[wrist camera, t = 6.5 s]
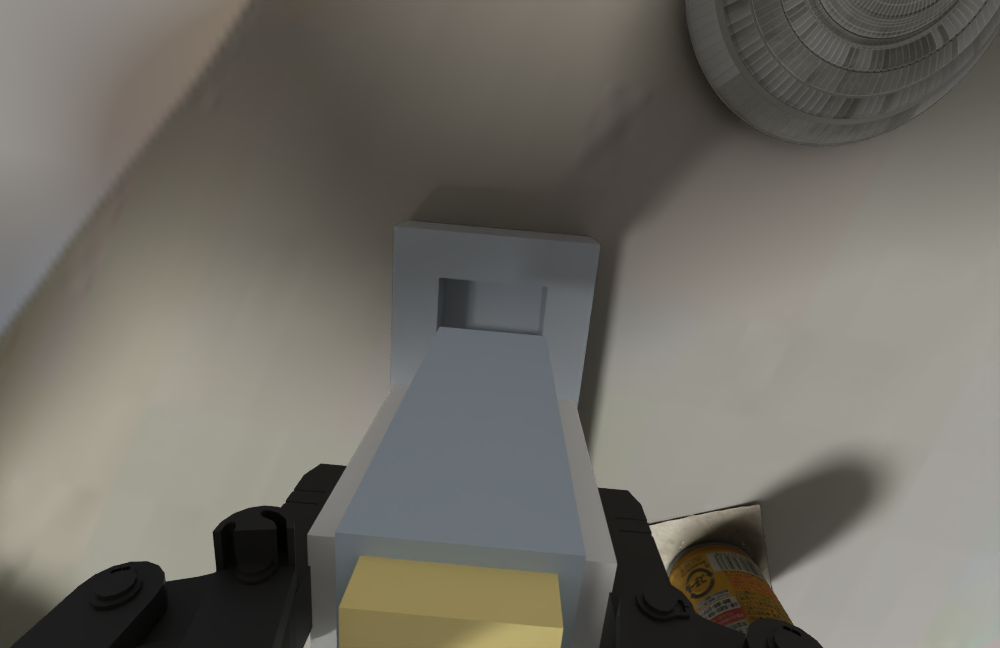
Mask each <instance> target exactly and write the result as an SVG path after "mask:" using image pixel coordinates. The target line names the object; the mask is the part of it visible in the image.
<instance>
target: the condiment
mask: <svg viewBox="0 0 1000 648" xmlns="http://www.w3.org/2000/svg"><path fill="white" fill-rule="evenodd" d="M649 527H650V529H651V532H652V536H653V537H654V540H655V543H656V545H657V548H658V551H659V553H660V556H661V559H662V561H663V564H664V566H665V569H666V572H667V574H668V577H669V580H670V582H671V585H673V586H674V587H676V588H677V589H679V590H680V591H682V592H683V593H684V595H685V596H686V597H687V598H688V599H689V600H690V602H691V603H692V605H693V607H694V610H695V612H696V613H697V614H699V615H700V616H702V617H703V618H706V619H708V620H710V621H712V622H715V623H717V624H720V625H723V626H725V627H728V628H731V629H734V630H736V631H739V632H742V633H745V634H746V632H747V628H748V626H749V625H750V624H751V623H752V622H754V621H755V620H756V619H763V618H772V619H777V620H782V621H785V622H787V623H790V624H792V625H793V623H792V621H791V620H790V618H789V617H788V615H787V613H786V612H785V610H784V608H783V606H782V605H781V603H780V602H779V600H778V599H777V597H776V595H775V594H774V592H773V590H772V589H771V584H770V577H769V571H768V564H767V555H766V546H765V541H764V534H763V527H762V516H761V511H760V505H752V506H748V507H745V506H743V507H738V508H732V509H727V510H723V511H714V512H710V513H705V514H700V515H695V516H694V515H692V516H688V517H686V518H682V519H678V520H672V521H665V522H663V523H659V524H655V525H650V526H649ZM682 541H685V543H684V544H683V545H681V543H682ZM743 543H744V544H745V545H742V544H743ZM680 546H682V548H681V549H678V548H679V547H680Z"/></svg>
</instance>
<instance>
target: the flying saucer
mask: <svg viewBox="0 0 1000 648" xmlns="http://www.w3.org/2000/svg"><path fill="white" fill-rule="evenodd" d="M685 8H686V18H687V25H688V30H689V35H690V39H691V42H692V46H693V49H694V52H695V55H696V58H697V60H698V63H699V65H700V67H701V69H702V71H703V73H704V75H705V77H706V79H707V81H708V82H709V84H710V86H711V87H712V89H713V90H714V91H715V93H716V94H717V95H718V97H719V98H720V99H721V100H722V102H723V103H724V104H725V105H726V106H727V107H728V108H729V109H730V110H731V111H732V112H733V113H734V114H735V115H737V116H738V117H739V118H740V119H742V120H743V121H744V122H746V123H747V124H749V125H750V126H752V127H753V128H755V129H757V130H759V131H760V132H763V133H765V134H767V135H769V136H772V137H774V138H777V139H780V140H783V141H786V142H791V143H795V144H802V145H811V146H833V145H842V144H849V143H854V142H859V141H862V140H866V139H869V138H872V137H875V136H878V135H881V134H883V133H886V132H888V131H890V130H893V129H895V128H897V127H899V126H901V125H903V124H905V123H906V122H908V121H910V120H912V119H913V118H915V117H916V116H918V115H920V114H921V113H922V112H924V111H925V110H927V109H928V108H930V107H931V106H932V105H933V104H935V103H936V102H937V101H939V100H940V99H941V98H942V97H943V96H944V95H946V94H947V93H948V92H949V91H950V90H951V89H952V88H953V87H954V86H955V85H956V84H957V83H958V82H959V81H960V80H961V79H962V78H963V77H964V76H965V75H966V74H967V73H968V72H969V70H970V69H971V68H972V67H973V66H974V65H975V64H976V62H977V61H978V60H979V59H980V57H981V56H982V55H983V53H984V52H985V51H986V49H987V48H988V46H989V45H990V44H991V42H992V41H993V39H994V37H995V36H996V34H997V33H998V31H999V30H1000V0H685Z"/></svg>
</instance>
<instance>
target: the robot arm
mask: <svg viewBox="0 0 1000 648" xmlns="http://www.w3.org/2000/svg"><path fill="white" fill-rule="evenodd" d="M408 388H409V386H404V385H394V386H393V388H392V390H391V391H390V393H389V395H388V397H387V398H386V400H385V402H384V403H383V405H382V407H381V409H380V410H379V412H378V414H377V416H376V417H375V419H374V421H373V422H372V424H371V426H370V428H369V429H368V431H367V433H366V434H365V436H364V438H363V440H362V441H361V443H360V445H359V446H358V448H357V450H356V452H355V453H354V455H353V457H352V458H351V460H350V462H349V464H348V465H347V466H341V465H330V464H320V465H318V466H317V467H315V468H314V469H312V470H311V471H309V472H308V473H306V474H305V475H304V476H303V477H302V479H301V480H300V481H299V483H298V484H297V486H296V487H295V489H294V492H292V493H291V494H290V496H289V497H288V498H287V500H286V503H285V504H283V505H282V507H281V508H280V507H274V506H259V507H252V508H247V509H245V510H242V511H239V512H237V513H234V514H232V515H231V516H229V517H228V518H226V519H225V520H223V521H222V522H221V523H220V524H219V525H218V526H217V527H216V528H215V530H214V531H213V540H214V550H215V560H216V570H217V571H216V572H215V573H212V574H208V575H204V576H199V577H193V578H187V579H180V580H174V581H167V582H166V581H165V573H164V572H163V570H162V569H161V568H160V566H159V565H156V564H153V563H150V562H147V561H142V562H128V563H124V564H120V565H116V566H113V567H110V568H108V569H106V570H104V571H102V572H100V573H97V574H95V575H94V576H92V577H91V578H89V579H88V580H87V581H85V582H84V583H82V584H81V585H80V586H78V587H77V588H76V589H75V590H74V591H73V592H72V593H71V594H69V595H68V596H67V597H66V598H65V599H64V600H63V601H62V602H60V603H59V604H58V605H57V606H56V607H55V608H54V609H53V610H52V611H50V612H49V613H48V614H47V615H46V616H45V617H44V618H43V619H41V620H40V621H39V622H38V623H37V624H36V625H35V626H34V627H33V628H31V629H30V630H29V631H28V632H27V633H26V634H25V635H24V636H22V637H21V638H20V639H19V640H18V641H17V642H16V643H15V644H14V645H12V646H11V647H10V648H303V647H304V644H305V642H306V640H307V638H308V636H309V633H310V637H311V648H337V632H336V560H335V532H336V530H337V528H338V526H339V524H340V522H341V520H342V518H343V516H344V514H345V512H346V510H347V508H348V506H349V504H350V502H351V500H352V498H353V496H354V494H355V492H356V490H357V489H358V487H359V485H360V483H361V481H362V479H363V477H364V475H365V473H366V471H367V469H368V467H369V465H370V463H371V461H372V459H373V457H374V455H375V453H376V451H377V449H378V447H379V445H380V443H381V441H382V439H383V437H384V435H385V433H386V431H387V429H388V427H389V425H390V424H391V422H392V420H393V418H394V416H395V414H396V412H397V410H398V408H399V406H400V404H401V402H402V400H403V398H404V396H405V394H406V392H407V390H408ZM557 401H558V406H559V412H560V417H561V422H562V428H563V433H564V439H565V444H566V450H567V455H568V461H569V466H570V472H571V477H572V483H573V488H574V494H575V499H576V504H577V510H578V515H579V521H580V526H581V532H582V537H583V543H584V548H585V554H586V559H585V565H584V571H583V577H582V583H581V589H580V595H579V601H578V607H577V613H576V619H575V625H574V631H573V637H572V643H571V648H823V647H822V646H821V645H820V644H819V643H818V641H817V640H815V639H814V638H813V637H811V636H810V635H809V634H807V633H806V632H805V631H803V630H802V629H800V628H798V627H796V626H794V625H792V624H790V623H787V622H785V621H782V620H777V619H772V618H763V619H756V620H755V621H754V622H752V623H751V624H750V625H749V626H748V628H747V632H746V634H745V633H742V632H739V631H736V630H734V629H731V628H728V627H725V626H723V625H720V624H717V623H715V622H712V621H710V620H708V619H706V618H703V617H702V616H700V615H699V614H697V613H696V612H695V610H694V607H693V605H692V603H691V602H690V600H689V599H688V598H687V597H686V596H685V595H684V593H683V592H682V591H680V590H679V589H677V588H676V587H674V586H673V585H671V582H670V580H669V577H668V574H667V572H666V569H665V566H664V564H663V561H662V559H661V556H660V553H659V551H658V548H657V545H656V543H655V540H654V537H653V536H652V532H651V529H650V527H649V524H648V523H647V519H646V516H645V514H644V511H643V508H642V506H641V504H640V503H639V502H638V501H637V500H636V499H635V498H634V497H633V496H632V495H631V493H630V492H629V491H627V490H617V489H606V488H598V487H597V484H596V480H595V476H594V472H593V468H592V464H591V460H590V457H589V453H588V449H587V445H586V441H585V437H584V433H583V430H582V426H581V422H580V418H579V414H578V410H577V406H576V403H575V401H568V400H557Z"/></svg>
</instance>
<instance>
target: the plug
mask: <svg viewBox="0 0 1000 648" xmlns="http://www.w3.org/2000/svg"><path fill="white" fill-rule="evenodd" d="M585 559H586V554H585V548H584V543H583V537H582V532H581V526H580V521H579V515H578V510H577V504H576V499H575V494H574V488H573V483H572V477H571V472H570V466H569V461H568V455H567V450H566V444H565V439H564V433H563V428H562V422H561V417H560V412H559V406H558V401H557V395H556V390H555V384H554V379H553V373H552V368H551V362H550V357H549V351H548V346H547V340H546V336H537V335H526V334H515V333H504V332H493V331H482V330H471V329H460V328H449V327H439V329H438V331H437V333H436V335H435V337H434V339H433V341H432V343H431V345H430V347H429V349H428V351H427V353H426V355H425V357H424V359H423V360H422V362H421V364H420V366H419V368H418V370H417V372H416V374H415V376H414V378H413V380H412V382H411V384H410V386H409V388H408V390H407V392H406V394H405V396H404V398H403V400H402V402H401V404H400V406H399V408H398V410H397V412H396V414H395V416H394V418H393V420H392V422H391V424H390V425H389V427H388V429H387V431H386V433H385V435H384V437H383V439H382V441H381V443H380V445H379V447H378V449H377V451H376V453H375V455H374V457H373V459H372V461H371V463H370V465H369V467H368V469H367V471H366V473H365V475H364V477H363V479H362V481H361V483H360V485H359V487H358V489H357V490H356V492H355V494H354V496H353V498H352V500H351V502H350V504H349V506H348V508H347V510H346V512H345V514H344V516H343V518H342V520H341V522H340V524H339V526H338V528H337V530H336V532H335V560H336V632H337V648H571V643H572V637H573V631H574V625H575V619H576V613H577V607H578V601H579V595H580V589H581V583H582V577H583V571H584V565H585Z"/></svg>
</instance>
